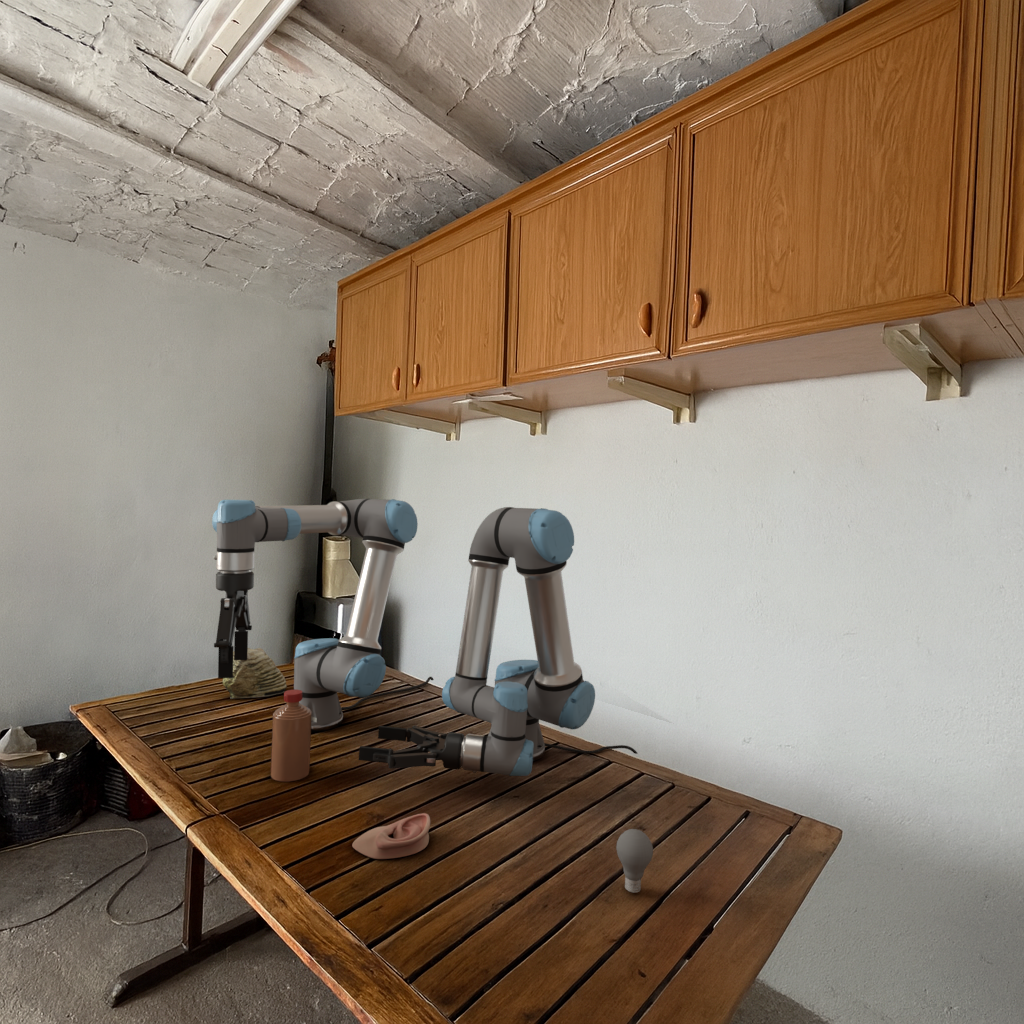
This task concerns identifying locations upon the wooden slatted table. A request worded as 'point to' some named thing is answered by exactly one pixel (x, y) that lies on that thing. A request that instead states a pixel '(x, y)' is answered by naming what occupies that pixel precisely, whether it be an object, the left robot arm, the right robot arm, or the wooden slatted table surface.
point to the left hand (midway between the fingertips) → (233, 668)
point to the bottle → (291, 742)
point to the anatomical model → (395, 838)
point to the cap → (292, 696)
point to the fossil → (255, 676)
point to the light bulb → (634, 857)
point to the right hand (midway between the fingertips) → (369, 742)
